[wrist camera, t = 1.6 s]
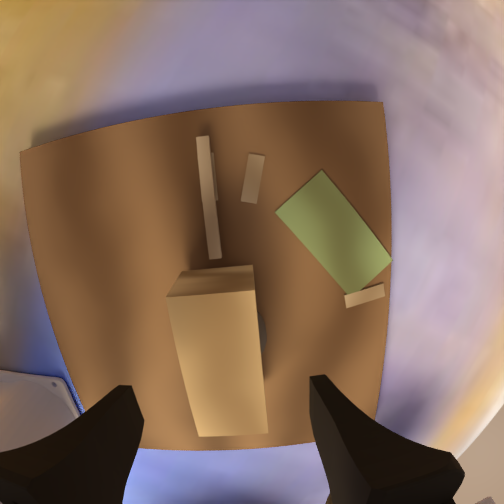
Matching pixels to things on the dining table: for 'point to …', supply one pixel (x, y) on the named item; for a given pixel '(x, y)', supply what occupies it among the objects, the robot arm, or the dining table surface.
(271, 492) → the dining table surface
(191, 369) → the peg key
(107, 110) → the dining table surface
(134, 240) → the brown flat square board
